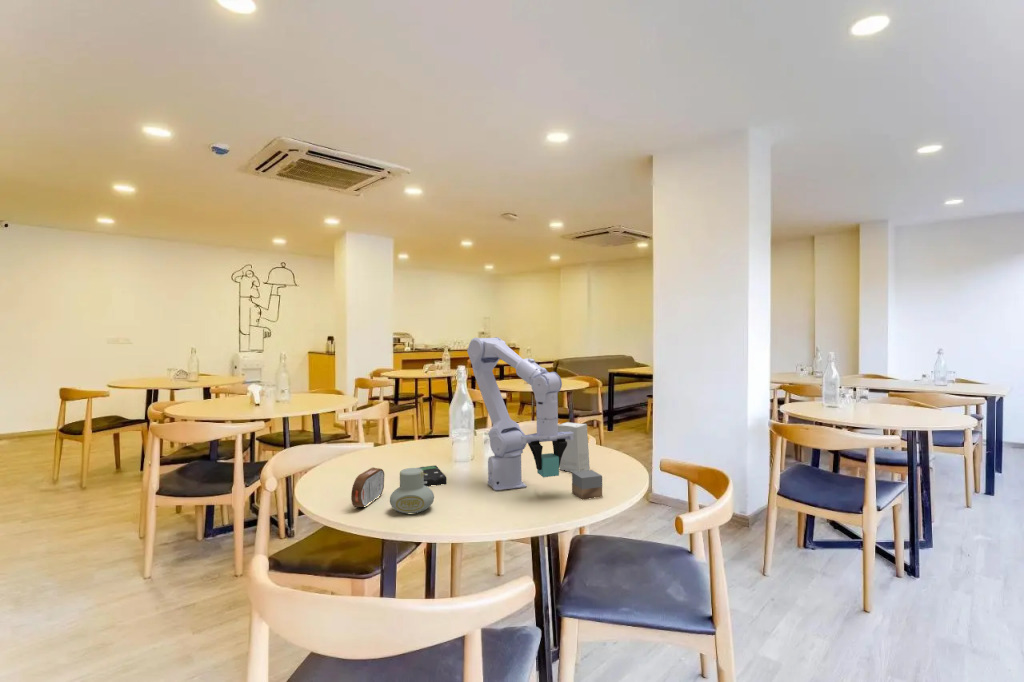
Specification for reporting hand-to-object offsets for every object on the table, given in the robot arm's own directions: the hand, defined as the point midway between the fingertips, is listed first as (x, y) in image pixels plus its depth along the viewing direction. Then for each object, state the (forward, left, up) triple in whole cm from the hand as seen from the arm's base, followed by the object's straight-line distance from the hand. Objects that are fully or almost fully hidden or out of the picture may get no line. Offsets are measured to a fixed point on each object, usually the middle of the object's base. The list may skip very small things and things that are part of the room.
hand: (547, 468), depth 136 cm
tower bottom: (+10, -3, -8) cm, 13 cm away
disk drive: (-29, +28, -8) cm, 41 cm away
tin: (-46, +12, -8) cm, 48 cm away
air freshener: (-36, +2, -8) cm, 37 cm away
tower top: (+10, -3, -5) cm, 12 cm away
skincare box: (+17, +21, -8) cm, 28 cm away
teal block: (0, 0, -2) cm, 2 cm away
